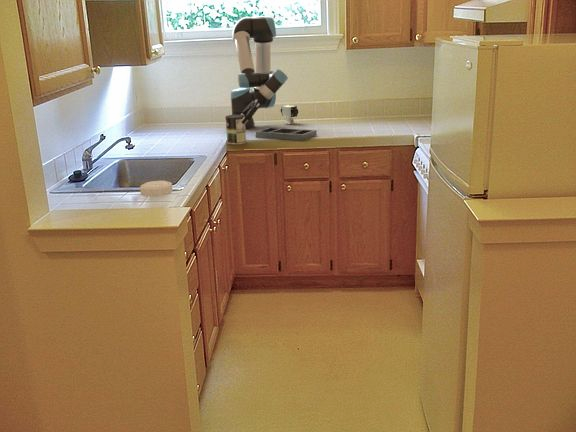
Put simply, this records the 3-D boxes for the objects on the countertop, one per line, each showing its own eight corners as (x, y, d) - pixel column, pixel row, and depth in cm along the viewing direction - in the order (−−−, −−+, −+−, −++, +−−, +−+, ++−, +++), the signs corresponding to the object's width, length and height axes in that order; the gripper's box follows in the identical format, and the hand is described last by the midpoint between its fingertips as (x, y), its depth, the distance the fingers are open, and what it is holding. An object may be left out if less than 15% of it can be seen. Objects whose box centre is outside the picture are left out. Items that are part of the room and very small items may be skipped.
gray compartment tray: (255, 137, 336) (255, 131, 335) (270, 132, 348) (270, 127, 347) (303, 140, 321) (302, 135, 320) (316, 135, 333) (316, 130, 332)
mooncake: (174, 187, 239) (173, 179, 238) (170, 196, 227) (169, 186, 226) (144, 189, 238) (143, 180, 237) (138, 197, 227) (136, 188, 226)
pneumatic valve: (293, 125, 369) (292, 105, 365) (280, 123, 378) (280, 103, 374) (300, 124, 372) (299, 104, 369) (287, 122, 381) (286, 102, 377)
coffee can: (227, 145, 317) (225, 117, 313) (227, 141, 327) (225, 115, 323) (247, 143, 318) (245, 116, 314) (246, 140, 328) (244, 114, 324)
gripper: (255, 88, 328) (229, 117, 331) (261, 92, 305) (233, 124, 307) (266, 97, 331) (240, 126, 333) (272, 102, 307) (244, 134, 309)
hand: (236, 125), depth 320 cm, fingers open, 13 cm apart
